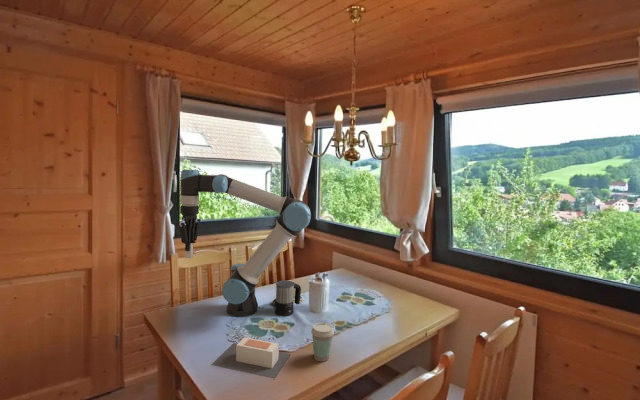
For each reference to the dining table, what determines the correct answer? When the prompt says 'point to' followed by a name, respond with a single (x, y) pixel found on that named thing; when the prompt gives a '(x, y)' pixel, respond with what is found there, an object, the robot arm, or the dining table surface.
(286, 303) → the milk frother
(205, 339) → the dining table surface
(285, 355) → the charcoal mat
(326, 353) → the coffee cup
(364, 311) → the dining table surface
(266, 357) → the cream block
